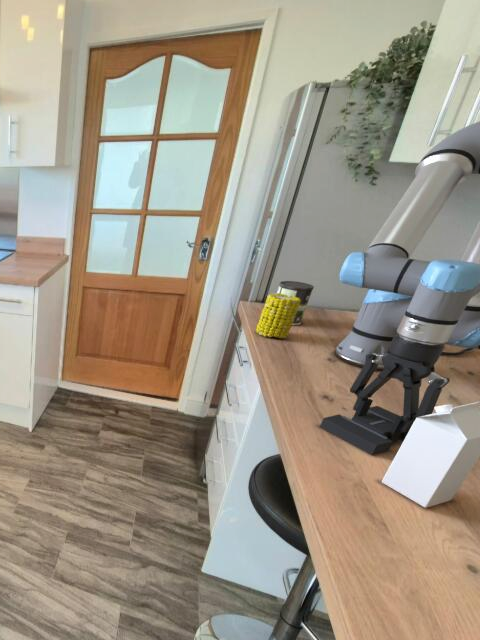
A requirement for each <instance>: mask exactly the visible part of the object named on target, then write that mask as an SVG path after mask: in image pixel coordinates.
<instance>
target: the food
mask: <svg viewBox="0 0 480 640" xmlns="http://www.w3.org/2000/svg"><path fill="white" fill-rule="evenodd" d="M300 302H301V300H300V298H297V297H293V296H291V295H289V296H287V295H286V294H284V295H283V294H281V293H278V294H277V292H275V293H270V294H268V295H267V298H266V300H265V303H264V304H263V305H264V306H263V308H262V310H261V313H260V316H259V320H258V323H257V325H256V329H255V332H256V333H257V335H258V334H259V336H260V337H262V336H263V337H264V338H267V337H269V338H273V337H274V338H278V339H286V338H287V337H288V335H289V334H290V330H291V328H292V326H293V325H292V324H293V323H292V322H294V318H295V315H296V313H297V312H296V311H297V310H298V306H299V305H300Z"/></svg>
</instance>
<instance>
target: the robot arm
mask: <svg viewBox="0 0 480 640" xmlns="http://www.w3.org/2000/svg"><path fill="white" fill-rule="evenodd" d="M414 175H415V177H414V179H413V180H412V182H411V183H410V185H409V187H407V189H406V191H405V192H404V194H403V195H402V196H401V198H400V199H399V201H398V203H397V204H396V206H395V207H394V209H393V210H392V211H391V213H390V214H389V216H388V217H387V219H386V221H385V222H384V223H383V225H382V227H381V228H380V229H379V231H378V232H377V234H376V235H375V236H374V238H373V240H372V241H371V243H369V246H368V247H367V248H366V250H365V252H364V251H353V252H351V253H350V254H349V255H348V256H347V257H346V258H345V260H344V262H343V264H342V266H341V268H340V272H339V281H340V282H341V283H342V284H344V285H348V286H351V287H356V288H359V289H362V288H363V289H369V290H368V291H367V293H366V295H365V298H364V299H363V300H362V304H361V306H360V309H359V311H358V314H357V316H356V319H355V321H354V324H353V326H352V329H351V330H350V332H349V333H348V334H347V336H346V337H344V339H343V340H342V341H341V342H340V343H338V345H337V346H336V348H335V349H334V353H333V355H334V356H335V357H336V358H337V359H338V360H340V361H342V362H344V363H346V364H348V365H351V366H355V367H358V368H361V369H360V372H359V373H358V375H357V377H356V378H355V380H354V381H353V383H352V385H351V387H350V388H349V391H350V393H351V394H354V395H355V396H356V401H355V403H354V404H353V406H352V410H353V411H355V413H354V415H353V417H357V416H361V415H366V414H367V412H368V410H369V408H370V407H372V404H373V402H374V400H373V399H371V398H372V397H373V395H374V394H376V392H378V390H380V389H381V388H382V387H383V386H384V385H385V384H386V383H387V382H389V381H390V380H391V379H396V380H398V381H400V382H401V383H402V388H404V389H403V390H404V391H403V409H402V415H399V417H397V419H396V421H395V423H394V425H393V426H392V428H391V430H390V432H389V434H388V436H387V438H388V439H390V440H392V441H393V443H397V442H398V440H399V439H400V438H399V437H400V435H401V433H404V432H408V431H409V430H410V428H411V426H412V424H413V422H414V421H415V419H416V418H417V417H421V416H425V415H429V414H433V413H434V411H435V408H434V407H436V405H437V403H438V400H439V397H440V395H441V393H442V390H443V389H444V388H445V387H446V386H447V385H448V384H449V383H450V382H451V379H450V378H449V377H448V376H444V377H443V376H441V375H440V374H438V373H436V371H435V365H436V363H437V362H438V360H439V358H440V356H442V355H444V356H459V355H460V356H461V355H463V354H465V353H467V352H469V351H472V350H474V349H475V348H478V349H480V220H479V221H478V223H477V226H476V227H475V229H474V232H473V234H472V236H471V238H470V240H469V242H468V244H467V247H466V249H465V250H464V252H463V255H462V257H461V259H460V260H458V259H435V260H433V261H429V260H422V259H414V258H410V257H411V256H412V255H413V253H414V251H415V250H416V248H417V247H418V245H419V243H420V242H421V241H422V240H423V238H424V236H425V235H426V233H427V231H428V230H429V228H430V227H431V226H432V224H433V222H434V221H435V219H436V218H437V216H438V215H439V213H441V211H442V209H443V207H444V206H445V204H446V202H447V201H448V200H449V198H450V197H451V195H452V194H453V192H454V191H455V190H456V188H457V186H458V185H459V184H461V183H463V182H464V181H466V180H468V178H469V177H470V176H471V175H480V120H479V121H476V122H474V123H472V124H468V125H467V126H465V127H463V128H461V129H458V130H457V131H455V132H453V133H451V134H450V135H448V136H446V137H444V138H443V139H442V140H441V141H440V142H438V143H436V145H434V146H433V147H432V148H431V149H430V150H429V151H428V152H426V154H425V155H424V156H423V157H422V158H421V160H420V161H419V163H418V165H416V168H415V170H414ZM445 345H448V346H449V347H459V348H463V349H462V350H460V351H457V352H448V351H444V349H445V348H446V347H445ZM375 371H379V373H378V374H377V376H376V377H375V378H374V379H373V380H372V381H371V382H370V380H371V378H372V376H373V375H374V373H375ZM426 378H428V381H427V384H428V386H427V387H426V389H425V392H424V394H423V396H422V398H421V402H420V390H421V389H420V388H421V387H422V381H423V380H424V379H426ZM369 382H370V383H369ZM393 443H392V444H393Z"/></svg>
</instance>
